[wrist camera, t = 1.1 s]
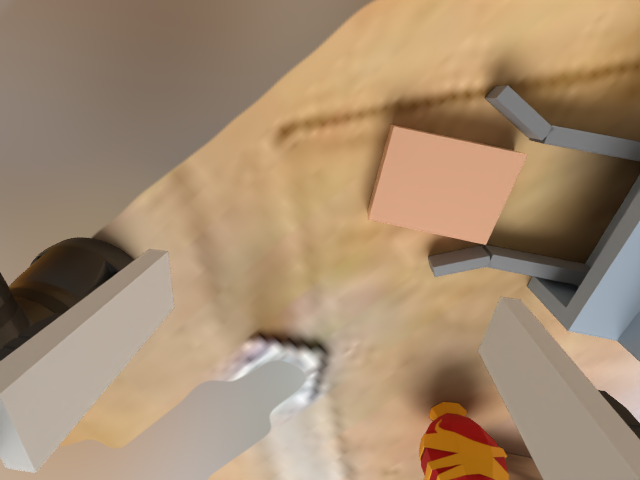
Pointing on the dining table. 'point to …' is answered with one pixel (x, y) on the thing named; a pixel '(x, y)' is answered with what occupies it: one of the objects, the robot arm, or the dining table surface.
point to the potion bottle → (459, 448)
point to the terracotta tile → (443, 184)
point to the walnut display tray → (522, 468)
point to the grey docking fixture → (562, 275)
